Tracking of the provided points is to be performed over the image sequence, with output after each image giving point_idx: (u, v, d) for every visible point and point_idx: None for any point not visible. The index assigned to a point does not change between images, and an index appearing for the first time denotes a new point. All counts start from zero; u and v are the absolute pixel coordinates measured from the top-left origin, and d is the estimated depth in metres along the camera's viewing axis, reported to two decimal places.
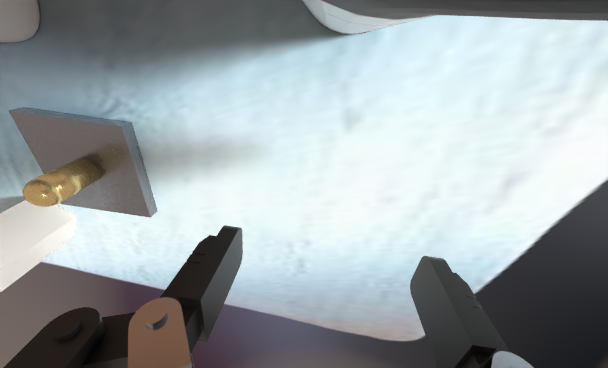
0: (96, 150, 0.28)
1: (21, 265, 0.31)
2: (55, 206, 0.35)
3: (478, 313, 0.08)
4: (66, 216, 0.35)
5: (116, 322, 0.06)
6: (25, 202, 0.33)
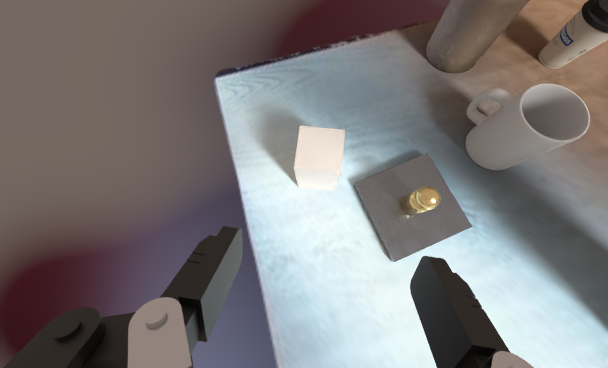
0: (436, 210, 0.36)
1: (317, 176, 0.32)
2: None
3: (478, 313, 0.08)
4: None
5: (116, 321, 0.06)
6: None
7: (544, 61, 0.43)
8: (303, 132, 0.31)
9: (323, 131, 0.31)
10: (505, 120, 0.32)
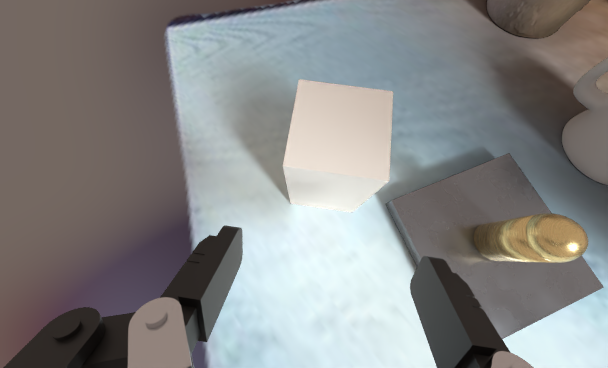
0: None
1: (331, 185, 0.15)
2: None
3: (478, 313, 0.08)
4: None
5: (116, 322, 0.06)
6: None
7: None
8: (306, 92, 0.15)
9: (348, 92, 0.15)
10: None
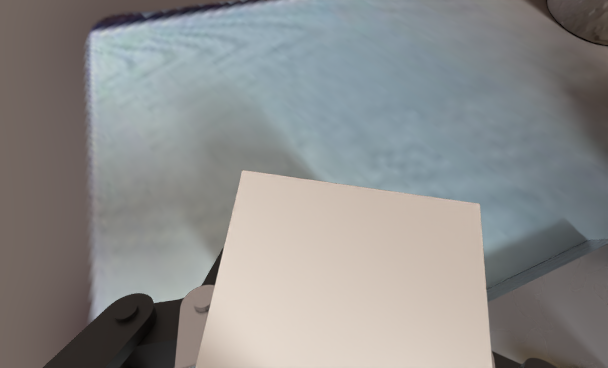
0: None
1: None
2: None
3: None
4: None
5: (164, 307, 0.07)
6: None
7: None
8: (258, 209, 0.06)
9: (366, 208, 0.06)
10: None
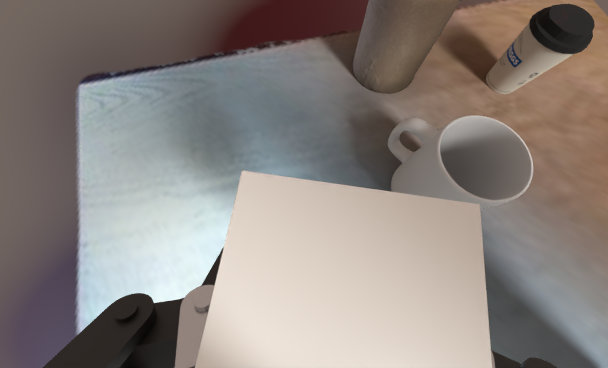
0: None
1: None
2: None
3: None
4: None
5: (164, 307, 0.07)
6: None
7: (492, 84, 0.35)
8: (258, 210, 0.06)
9: (366, 208, 0.06)
10: (423, 163, 0.23)
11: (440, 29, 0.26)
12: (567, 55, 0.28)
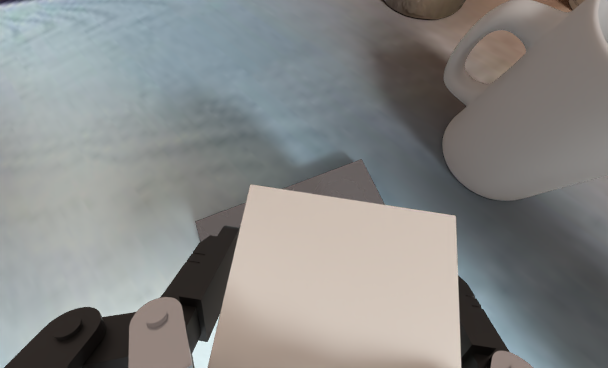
0: None
1: None
2: None
3: (478, 313, 0.08)
4: None
5: (116, 321, 0.06)
6: None
7: None
8: (264, 219, 0.07)
9: (357, 218, 0.07)
10: (541, 75, 0.12)
11: None
12: None
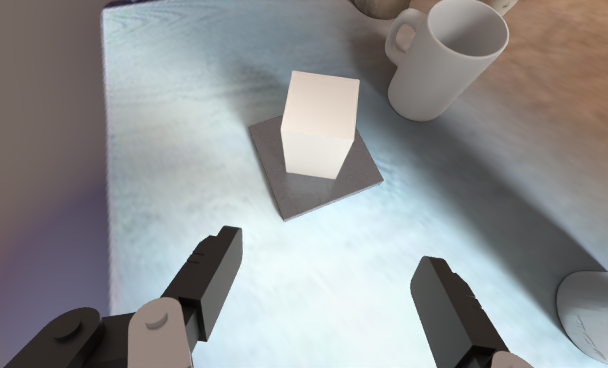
0: None
1: (315, 147, 0.21)
2: None
3: (478, 313, 0.08)
4: None
5: (116, 321, 0.06)
6: None
7: None
8: (297, 80, 0.21)
9: (327, 80, 0.21)
10: (416, 43, 0.26)
11: None
12: None
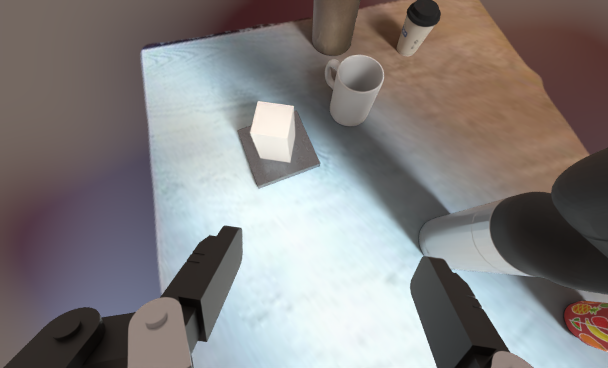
0: (296, 151, 0.47)
1: (270, 142, 0.39)
2: (292, 148, 0.47)
3: (478, 313, 0.08)
4: (290, 156, 0.46)
5: (116, 322, 0.06)
6: (294, 133, 0.46)
7: (399, 50, 0.56)
8: (260, 106, 0.38)
9: (276, 106, 0.39)
10: (335, 81, 0.44)
11: (352, 13, 0.47)
12: (427, 28, 0.49)
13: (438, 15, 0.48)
